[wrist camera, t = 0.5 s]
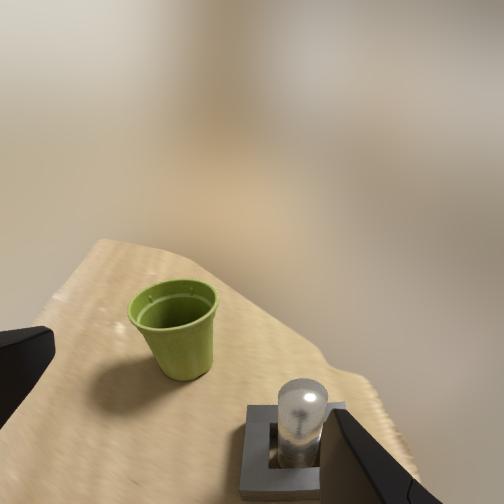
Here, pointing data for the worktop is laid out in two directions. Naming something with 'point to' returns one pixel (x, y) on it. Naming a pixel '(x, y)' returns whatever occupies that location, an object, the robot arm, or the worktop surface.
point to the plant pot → (177, 325)
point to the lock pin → (300, 422)
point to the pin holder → (257, 461)
